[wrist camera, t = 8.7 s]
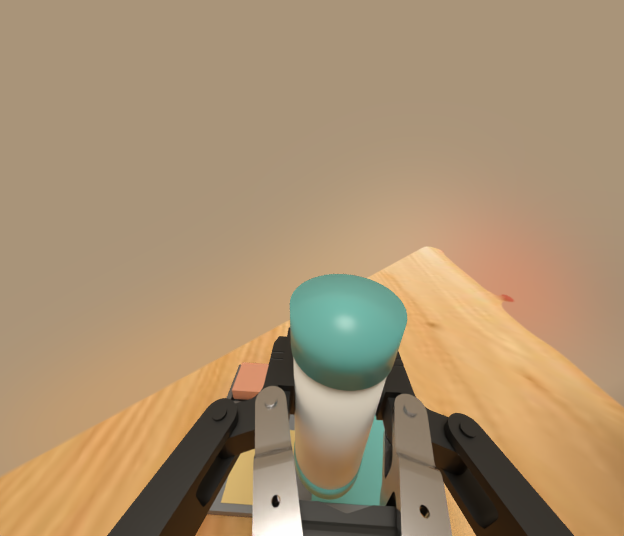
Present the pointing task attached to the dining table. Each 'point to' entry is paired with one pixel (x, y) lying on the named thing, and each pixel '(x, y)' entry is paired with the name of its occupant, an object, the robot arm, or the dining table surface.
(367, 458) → the colouring board
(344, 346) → the marker
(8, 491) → the dining table surface
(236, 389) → the button
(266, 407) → the robot arm
